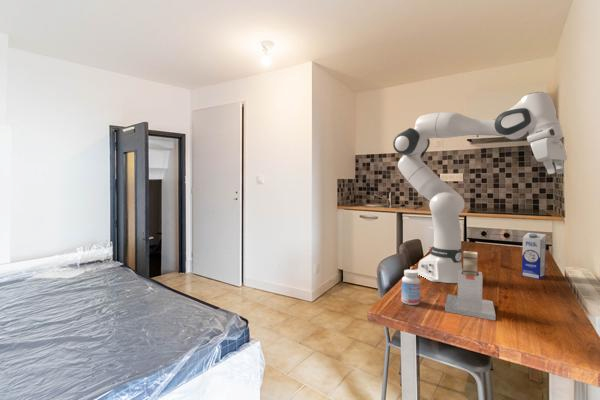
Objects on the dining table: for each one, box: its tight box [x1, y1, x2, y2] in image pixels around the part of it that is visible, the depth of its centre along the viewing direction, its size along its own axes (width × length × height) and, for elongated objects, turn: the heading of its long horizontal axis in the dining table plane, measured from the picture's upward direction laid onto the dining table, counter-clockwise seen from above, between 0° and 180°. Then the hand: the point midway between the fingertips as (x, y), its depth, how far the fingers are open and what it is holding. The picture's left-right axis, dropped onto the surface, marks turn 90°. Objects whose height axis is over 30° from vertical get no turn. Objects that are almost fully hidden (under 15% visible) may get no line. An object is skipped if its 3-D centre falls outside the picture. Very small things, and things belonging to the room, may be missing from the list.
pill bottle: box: [400, 269, 421, 306], centre depth 107 cm, size 6×6×11 cm
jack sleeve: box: [444, 269, 496, 321], centre depth 101 cm, size 14×14×12 cm
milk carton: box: [521, 232, 547, 280], centre depth 139 cm, size 7×7×20 cm
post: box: [462, 250, 479, 276], centre depth 101 cm, size 4×4×17 cm
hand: (556, 173), depth 105 cm, fingers open, 8 cm apart
